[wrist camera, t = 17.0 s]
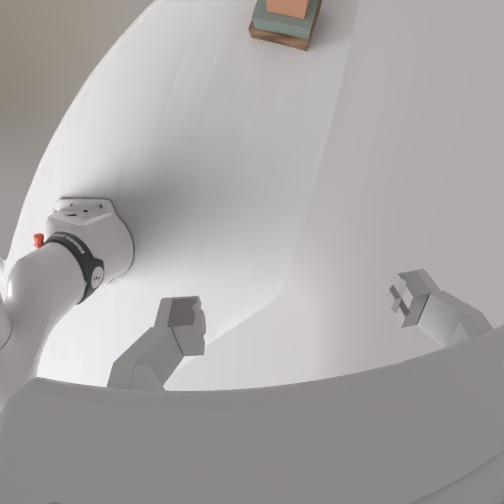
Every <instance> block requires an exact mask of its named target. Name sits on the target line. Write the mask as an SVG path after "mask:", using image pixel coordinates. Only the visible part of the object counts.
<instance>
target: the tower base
mask: <svg viewBox="0 0 504 504" xmlns="http://www.w3.org/2000/svg"><path fill="white" fill-rule="evenodd" d="M321 3H322V0H319V2H318V6H317V10H316V13H315V17H314V21H313V25H312V28H311V32H310V36H309V39H304V38H300V37H296V36H291V35H287V34H282V33H277V32H272V31H267V30H261V29H255V27H254V24H253V21H251V24H250V26H249V32H250V35H251V37H252V38H256V39H261V40H265V41H270V42H274V43H278V44H282V45H286V46H290V47H294V48H297V49H301V50H304V51H307V48H308V45H309V42H310V39H311V36H312V33H313V30H314V27H315V23H316V20H317V17H318V14H319V11H320V7H321Z"/></svg>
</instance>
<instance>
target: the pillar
mask: <svg viewBox="0 0 504 504" xmlns="http://www.w3.org/2000/svg"><path fill="white" fill-rule="evenodd" d="M309 1H310V0H266V4H267V12H272V13H278V14H283V15H287V16H292V17H296V18H300V19H304V18H305V14H306V11H307V7H308V4H309Z"/></svg>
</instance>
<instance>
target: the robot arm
mask: <svg viewBox="0 0 504 504" xmlns="http://www.w3.org/2000/svg"><path fill="white" fill-rule="evenodd" d="M101 205H102V207H101ZM43 240H44V242H43ZM34 241H35V244H34V246H35V247H37V249H36V250H35V251H33V252H31V253H29V254H27V255H26V256H24V257H22V258H20V259H19V260H18V261H17V262H16V263H15V265H14V266H13V268H12V269H11V271H10V274H9V278H8V285H7V294H6V298H5V302H4V303H3V300H2V297H1V294H0V504H504V325H502V326H500V327H498V328H495V329H493V328H492V326H491V325H490V323H489V322H488V320H487V319H486V318H485V316H484V315H483V313H482V312H480V311H479V310H477V309H475V308H474V307H472V306H470V305H468V304H467V303H465V302H463V301H461V300H459V299H458V298H456V297H454V296H452V295H450V294H448V293H447V292H445V291H441V290H440V289H439V288H438V286H437V285H436V284H435V283H434V281H433V280H432V278H431V277H430V276H429V274H428V273H427V272H426V271H425V270H424V269H419V270H414V271H409V272H403V273H397V274H394V275H393V277H392V283H393V285H392V286H391V288H390V289H389V292H388V303H389V306H390V308H391V310H393V311H394V312H396V316H395V317H396V319H397V321H398V323H399V325H400V327H401V328H403V327H407V326H412V325H417V326H418V327H419V328H421V329H422V330H423V331H424V332H426V333H427V334H428V335H429V336H431V337H432V338H433V339H434V340H436V341H437V342H438V343H439V344H441V345H442V346H443V347H444V349H441V350H439V351H436V352H432V353H429V354H426V355H423V356H420V357H416V358H413V359H410V360H406V361H403V362H399V363H395V364H392V365H388V366H384V367H380V368H376V369H371V370H367V371H363V372H358V373H354V374H349V375H344V376H339V377H333V378H327V379H322V380H315V381H309V382H302V383H295V384H287V385H279V386H271V387H260V388H249V389H234V390H215V391H165V389H164V388H163V385H164V383H165V382H166V381H167V379H168V378H169V377H170V375H171V374H172V373H173V371H174V370H175V368H176V367H177V366H178V364H179V363H180V362H181V360H182V359H183V358H184V357H183V356H196V355H204V346H205V341H204V338H203V335H204V334H205V332H206V323H205V316H204V312H203V310H201V301H200V298H199V296H188V297H172V298H162V299H161V301H160V305H159V309H158V313H157V317H156V321H155V325H154V327H151V328H150V329H148V330H147V331H146V332H145V333H144V334H143V335H142V336H141V337H140V338H139V339H138V340H137V341H136V342H135V343H134V344H133V345H132V346H131V347H130V348H128V349H127V350H126V351H125V352H124V353H123V354H122V355H121V356H120V357H119V358H118V359H117V360H116V361H115V362H114V363H113V366H112V370H111V373H110V377H109V380H108V384H107V387H98V386H89V385H82V384H74V383H68V382H62V381H56V380H51V379H46V378H40V377H37V369H38V364H39V360H40V357H41V354H42V351H43V348H44V346H45V343H46V341H47V339H48V337H49V335H50V333H51V331H52V329H53V328H54V327H55V325H56V324H57V323H58V322H59V320H60V319H61V318H62V317H63V316H64V315H65V314H66V313H67V312H68V311H69V310H70V309H71V308H72V307H73V306H75V305H77V304H80V303H82V302H83V301H84V300H86V299H87V298H88V297H89V296H90V295H91V294H92V293H93V292H94V291H95V290H96V289H98V288H99V287H101V286H106V285H107V284H108V283H109V282H110V281H111V280H113V279H115V278H117V277H120V276H122V275H123V274H125V273H126V272H127V271H128V270H129V268H130V266H131V264H132V261H133V254H134V250H133V243H132V239H131V236H130V234H129V231H128V230H127V228H126V226H125V225H124V223H123V222H122V221H121V220H120V219H119V217H118V216H117V215H116V212H115V210H114V207H113V205H112V203H111V201H110V200H107V199H59V200H57V202H56V203H55V206H54V208H53V212H52V215H50V216H49V217H48V219H47V221H46V224H45V230H44V235H43V234H40V233H39V234H35V235H34Z"/></svg>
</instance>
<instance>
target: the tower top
mask: <svg viewBox="0 0 504 504" xmlns="http://www.w3.org/2000/svg"><path fill="white" fill-rule="evenodd" d="M318 2H319V0H310V1H309V4H308V7H307V11H306V14H305V18H304V19H300V18H296V17H292V16H287V15H283V14H278V13H272V12H267V4H266V0H258V1H257V3H256V6H255V9H254V12H253V15H252V21H253V24H254V27H255V29H261V30H267V31H272V32H277V33H282V34H287V35H291V36H296V37H300V38H304V39H309V36H310V32H311V28H312V25H313V21H314V17H315V13H316V10H317V6H318Z"/></svg>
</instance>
